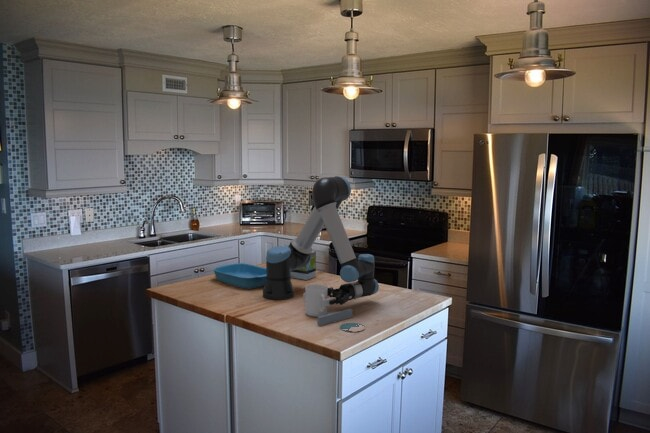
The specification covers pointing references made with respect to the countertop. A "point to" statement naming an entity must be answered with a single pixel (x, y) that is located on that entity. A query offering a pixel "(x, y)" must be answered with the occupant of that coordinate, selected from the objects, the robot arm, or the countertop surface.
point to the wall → (334, 317)
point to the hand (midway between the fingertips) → (312, 299)
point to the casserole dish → (241, 275)
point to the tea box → (306, 269)
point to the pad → (349, 325)
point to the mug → (315, 300)
